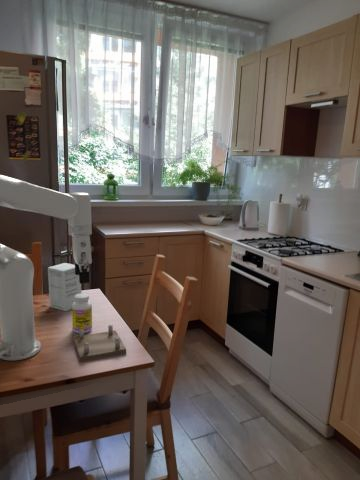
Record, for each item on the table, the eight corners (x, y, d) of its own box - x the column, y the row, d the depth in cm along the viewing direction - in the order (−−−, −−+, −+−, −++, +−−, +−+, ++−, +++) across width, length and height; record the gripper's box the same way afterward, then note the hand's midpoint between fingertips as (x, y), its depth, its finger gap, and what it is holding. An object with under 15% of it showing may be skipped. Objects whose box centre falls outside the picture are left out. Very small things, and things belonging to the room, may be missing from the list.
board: (126, 353, 115) (126, 340, 114) (80, 361, 110) (80, 347, 109) (115, 334, 128) (115, 322, 127) (73, 341, 122) (73, 328, 121)
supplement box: (82, 304, 153) (81, 265, 150) (65, 312, 146) (64, 271, 142) (66, 300, 158) (64, 262, 155) (48, 306, 150) (47, 267, 147)
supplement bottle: (72, 335, 126) (71, 299, 124) (72, 326, 133) (71, 293, 130) (92, 333, 128) (92, 298, 126) (91, 325, 135) (91, 291, 132)
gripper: (96, 233, 117) (98, 285, 121) (87, 224, 133) (88, 270, 136) (72, 235, 114) (74, 287, 118) (65, 226, 130) (67, 272, 133)
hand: (82, 278), depth 127 cm, fingers open, 9 cm apart
